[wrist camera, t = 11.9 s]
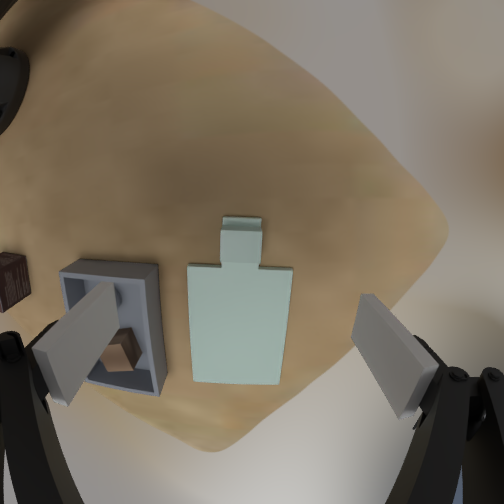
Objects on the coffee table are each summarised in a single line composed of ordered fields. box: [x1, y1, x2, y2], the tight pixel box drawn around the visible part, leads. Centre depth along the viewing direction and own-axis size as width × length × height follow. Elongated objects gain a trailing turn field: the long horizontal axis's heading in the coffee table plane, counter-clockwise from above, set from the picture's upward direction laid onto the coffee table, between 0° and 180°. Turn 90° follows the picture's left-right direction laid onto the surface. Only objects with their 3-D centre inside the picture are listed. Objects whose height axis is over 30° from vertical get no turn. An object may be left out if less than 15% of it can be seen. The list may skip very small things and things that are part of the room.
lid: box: [187, 216, 293, 384], centre depth 32 cm, size 22×12×4 cm, turn 177°
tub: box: [59, 259, 168, 397], centre depth 31 cm, size 16×11×5 cm
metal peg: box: [114, 287, 122, 309], centre depth 30 cm, size 3×3×4 cm
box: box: [0, 252, 31, 313], centre depth 28 cm, size 6×6×7 cm
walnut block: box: [100, 327, 142, 372], centre depth 32 cm, size 4×4×4 cm
